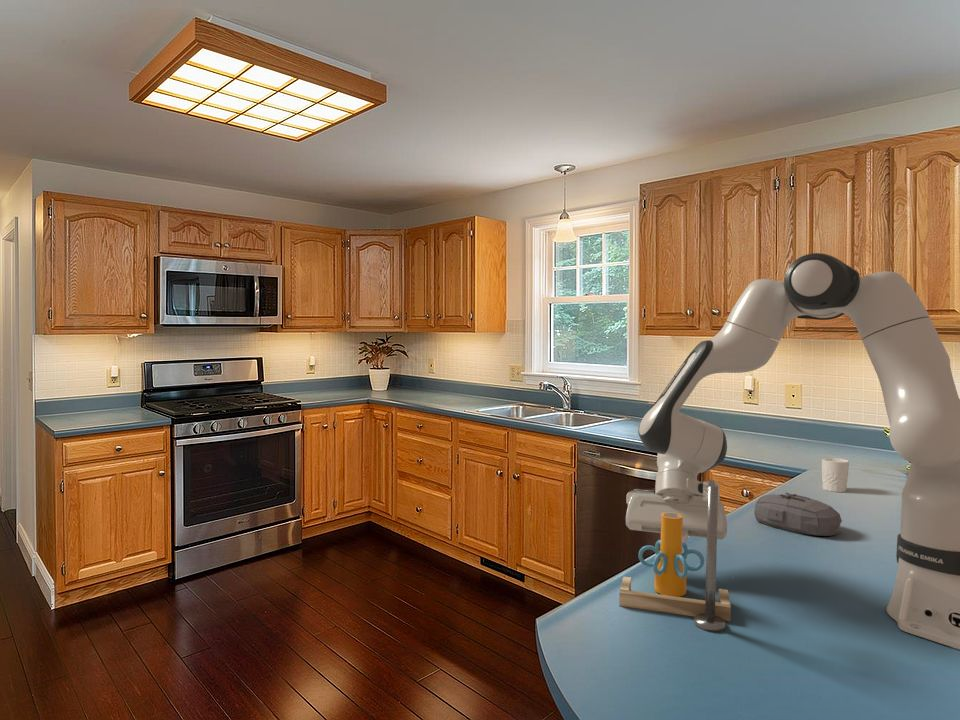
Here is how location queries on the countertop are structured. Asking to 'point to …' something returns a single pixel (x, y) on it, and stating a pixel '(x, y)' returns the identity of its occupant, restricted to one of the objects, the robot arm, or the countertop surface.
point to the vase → (671, 557)
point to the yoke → (671, 602)
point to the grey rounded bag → (797, 514)
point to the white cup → (834, 474)
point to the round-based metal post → (710, 561)
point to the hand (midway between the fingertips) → (674, 552)
